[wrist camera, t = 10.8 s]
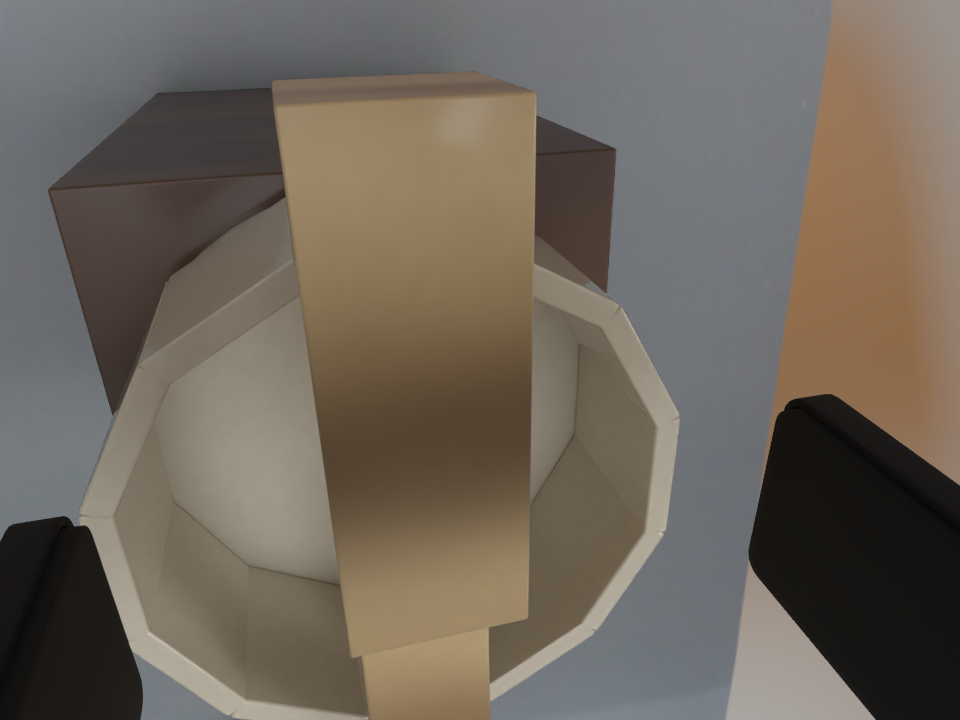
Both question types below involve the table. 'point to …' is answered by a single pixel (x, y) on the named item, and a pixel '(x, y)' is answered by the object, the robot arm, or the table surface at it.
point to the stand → (247, 205)
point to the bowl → (303, 492)
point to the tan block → (419, 364)
